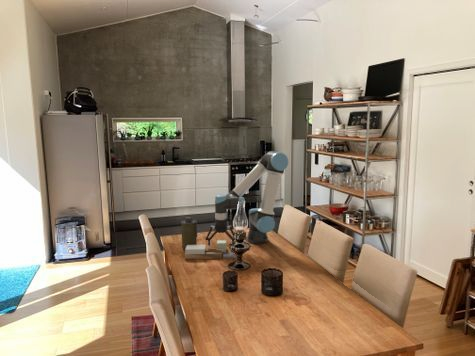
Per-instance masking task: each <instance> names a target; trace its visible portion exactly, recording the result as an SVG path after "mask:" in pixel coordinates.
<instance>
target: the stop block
mask: <svg viewBox="0 0 475 356" xmlns="http://www.w3.org/2000/svg"><path fill="white" fill-rule="evenodd" d="M216 249H222V253H225V252H227V239H225V240H222V239H221V240H219V239H218V240H217V241H216Z"/></svg>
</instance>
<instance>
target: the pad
mask: <svg viewBox="0 0 475 356" xmlns="http://www.w3.org/2000/svg"><path fill="white" fill-rule="evenodd" d="M236 254H237V253H236ZM236 254H234V253H233V251H232V252H227V251H226V252H222V259H236Z"/></svg>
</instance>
